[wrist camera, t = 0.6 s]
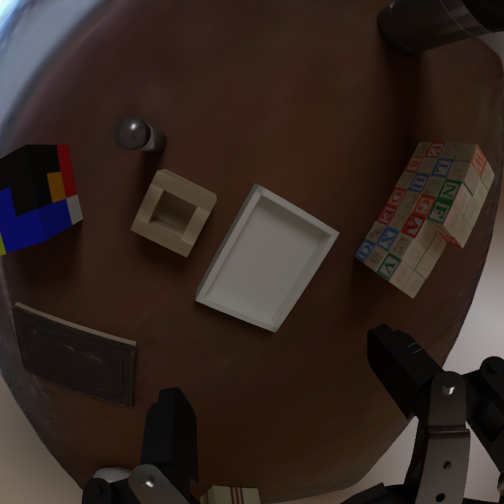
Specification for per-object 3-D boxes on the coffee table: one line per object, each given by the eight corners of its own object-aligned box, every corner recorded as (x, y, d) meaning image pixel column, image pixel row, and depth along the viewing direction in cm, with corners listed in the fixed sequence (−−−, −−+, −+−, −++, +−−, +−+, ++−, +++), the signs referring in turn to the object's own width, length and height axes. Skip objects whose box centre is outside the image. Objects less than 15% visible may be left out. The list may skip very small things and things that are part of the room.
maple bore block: (164, 168, 31) (157, 170, 26) (215, 194, 33) (216, 200, 28) (140, 220, 33) (130, 229, 28) (189, 244, 35) (187, 257, 30)
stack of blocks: (377, 273, 41) (426, 310, 29) (352, 255, 39) (401, 292, 27) (439, 165, 36) (496, 174, 25) (419, 140, 34) (478, 143, 23)
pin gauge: (152, 127, 29) (123, 112, 18) (170, 136, 30) (150, 124, 19) (142, 147, 30) (108, 141, 18) (160, 155, 30) (135, 154, 19)
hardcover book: (17, 298, 33) (11, 304, 31) (138, 338, 38) (135, 347, 36) (29, 365, 37) (25, 373, 35) (134, 401, 43) (132, 410, 40)
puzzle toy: (83, 218, 31) (45, 240, 22) (30, 235, 30) (-10, 258, 21) (68, 145, 28) (26, 144, 18) (16, 168, 27) (-28, 176, 17)
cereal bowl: (86, 454, 47) (82, 474, 41) (143, 463, 50) (141, 485, 43) (108, 480, 53) (106, 497, 46) (159, 486, 55) (159, 504, 49)
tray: (255, 183, 33) (258, 184, 31) (331, 227, 37) (339, 233, 34) (196, 291, 37) (195, 300, 34) (271, 322, 40) (275, 332, 38)
